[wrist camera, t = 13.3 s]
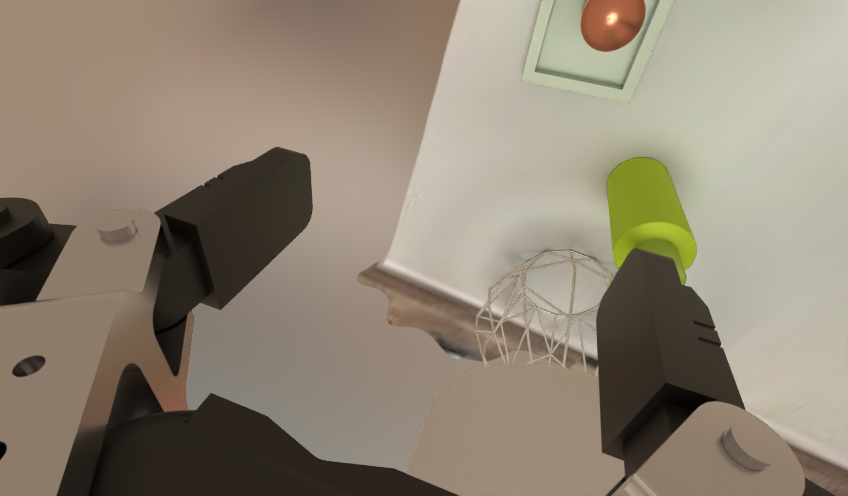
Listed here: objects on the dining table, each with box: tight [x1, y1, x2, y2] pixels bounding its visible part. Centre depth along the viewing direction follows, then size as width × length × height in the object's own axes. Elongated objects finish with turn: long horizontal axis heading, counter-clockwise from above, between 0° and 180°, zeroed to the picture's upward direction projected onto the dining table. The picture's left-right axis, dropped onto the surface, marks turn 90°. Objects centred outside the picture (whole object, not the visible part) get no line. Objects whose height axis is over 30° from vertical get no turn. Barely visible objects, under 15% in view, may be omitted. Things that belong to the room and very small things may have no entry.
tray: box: [521, 0, 674, 103], centre depth 33 cm, size 10×14×2 cm
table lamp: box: [406, 250, 625, 496], centre depth 36 cm, size 22×22×40 cm
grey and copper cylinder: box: [581, 0, 646, 52], centre depth 28 cm, size 4×4×13 cm
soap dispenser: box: [607, 158, 697, 287], centre depth 34 cm, size 6×7×20 cm
